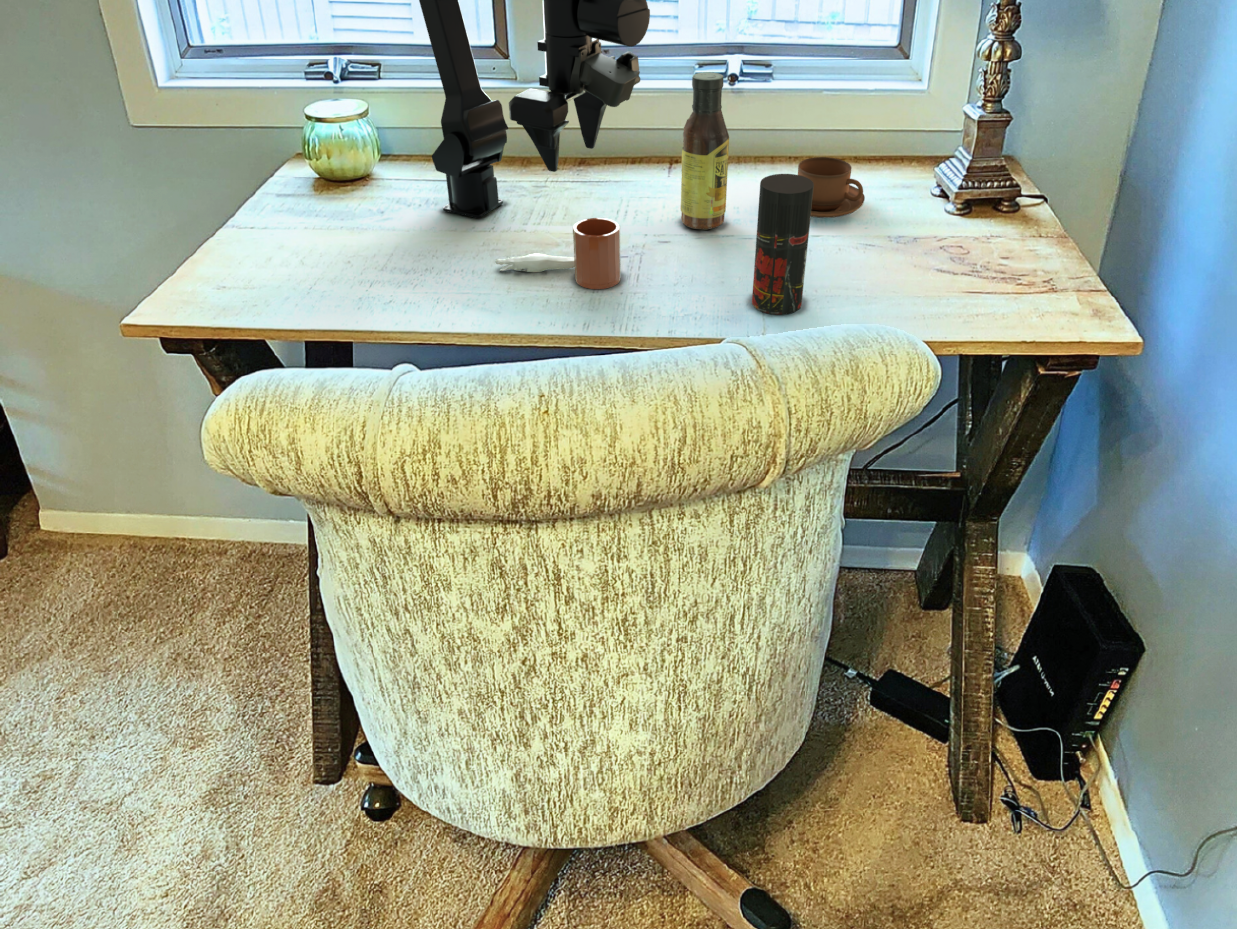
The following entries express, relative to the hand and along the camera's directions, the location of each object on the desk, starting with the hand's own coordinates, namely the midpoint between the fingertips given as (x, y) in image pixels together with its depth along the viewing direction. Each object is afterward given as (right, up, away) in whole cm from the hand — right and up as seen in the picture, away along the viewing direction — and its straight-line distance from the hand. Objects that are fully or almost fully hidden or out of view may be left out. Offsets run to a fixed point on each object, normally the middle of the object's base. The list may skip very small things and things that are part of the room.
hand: (571, 159), depth 131 cm
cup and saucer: (+35, -3, +15) cm, 38 cm away
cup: (+3, -16, -2) cm, 16 cm away
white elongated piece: (-2, -14, +1) cm, 14 cm away
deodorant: (+25, -20, -8) cm, 33 cm away
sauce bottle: (+18, -5, +12) cm, 22 cm away
